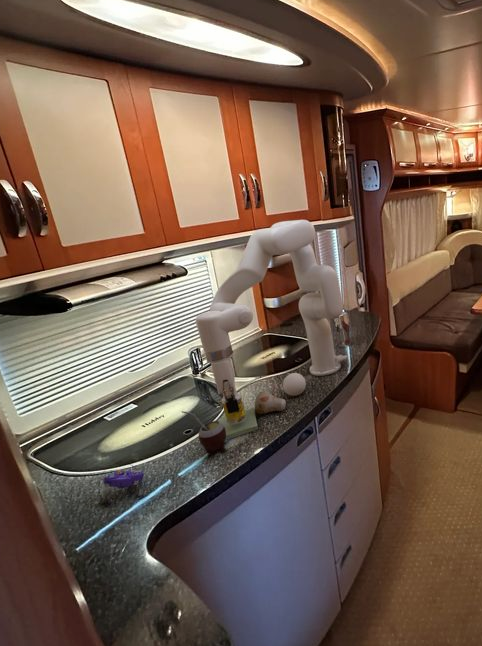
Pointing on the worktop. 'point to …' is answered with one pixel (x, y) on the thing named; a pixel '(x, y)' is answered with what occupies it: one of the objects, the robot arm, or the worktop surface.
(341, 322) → the beer glass
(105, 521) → the worktop surface
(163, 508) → the worktop surface
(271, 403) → the beige lumpy tapered piece
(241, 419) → the supplement bottle
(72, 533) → the worktop surface
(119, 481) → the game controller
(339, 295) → the robot arm
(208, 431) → the mate gourd
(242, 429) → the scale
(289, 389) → the ball
